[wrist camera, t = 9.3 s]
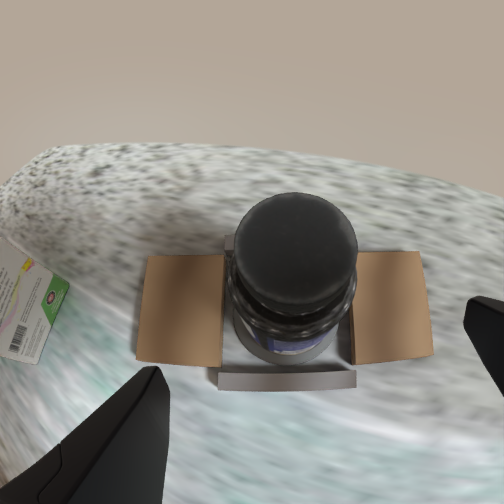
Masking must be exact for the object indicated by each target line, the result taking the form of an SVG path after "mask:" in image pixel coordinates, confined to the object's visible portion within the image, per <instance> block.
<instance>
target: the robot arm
mask: <svg viewBox="0 0 504 504" xmlns="http://www.w3.org/2000/svg"><path fill="white" fill-rule="evenodd" d="M463 325H464V329H465V331H466V333H467V335H468V336H469V338H470V340H471V342H472V344H473V345H474V347H475V349H476V351H477V353H478V355H479V357H480V359H481V360H482V362H483V364H484V366H485V367H486V369H487V371H488V372H489V374H490V375H491V377H492V379H493V380H494V382H495V383H496V385H497V387H498V388H499V390H500V392H501V393H502V395H503V397H504V301H500V300H496V299H492V298H488V297H484V296H476V297H473V298H470V299H469V300H468V302H467V306H466V311H465V316H464V321H463ZM169 422H170V390H169V387H168V385H167V383H166V380H165V378H164V376H163V374H162V372H161V370H160V368H159V367H158V366H147V367H143V368H142V369H141V370H140V371H138V372H137V373H136V374H135V375H134V376H133V377H132V378H131V379H130V380H129V381H127V382H126V383H125V384H124V385H123V386H122V387H121V388H120V389H119V390H118V391H116V392H115V393H114V394H113V395H112V396H111V397H110V398H109V399H108V400H107V401H105V402H104V403H103V404H102V405H101V406H100V407H99V408H98V409H97V410H95V411H94V412H93V413H92V414H91V415H90V416H89V417H88V418H87V419H85V420H84V421H83V422H82V423H81V424H80V425H79V426H78V427H76V428H75V429H74V430H73V431H72V432H71V433H70V434H69V435H67V436H66V437H65V438H64V439H63V440H62V441H61V442H60V444H57V445H56V446H55V447H54V448H53V449H52V450H50V451H49V452H48V453H47V454H46V455H45V456H43V457H42V458H41V459H40V460H39V461H37V462H36V463H35V464H33V465H32V466H31V467H30V468H28V469H27V470H25V471H24V472H23V473H21V474H20V475H19V476H17V477H16V478H14V479H13V480H11V481H10V482H9V483H7V484H6V485H4V486H3V487H1V488H0V504H162V498H163V488H164V480H165V471H166V463H167V455H168V447H169Z"/></svg>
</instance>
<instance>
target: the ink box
mask: <svg viewBox="0 0 504 504" xmlns="http://www.w3.org/2000/svg"><path fill="white" fill-rule="evenodd" d="M68 288H69V283H68V282H66V281H65V280H63V279H62V278H60V277H58V276H57V275H55V274H54V273H52V272H51V271H49V270H48V269H46V268H45V267H43V266H42V265H40V264H39V263H37V262H36V261H34V260H33V259H31V258H30V257H28V256H27V255H26V254H24V253H23V252H21V251H20V250H19V249H17V248H16V247H14V246H13V245H12V244H10V243H9V242H8V241H6V240H5V239H4V238H2V237H1V236H0V356H2V357H5V358H9V359H13V360H16V361H20V362H25V363H29V364H34V365H36V364H37V363H38V361H39V358H40V355H41V352H42V349H43V347H44V344H45V341H46V339H47V336H48V334H49V331H50V329H51V326H52V324H53V321H54V319H55V317H56V314H57V312H58V310H59V307H60V305H61V303H62V301H63V299H64V296H65V294H66V292H67V290H68Z"/></svg>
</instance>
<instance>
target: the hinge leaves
mask: <svg viewBox="0 0 504 504" xmlns="http://www.w3.org/2000/svg"><path fill="white" fill-rule="evenodd" d="M234 238H235V235H225V246H224V251H225V253H226V256H232V255H233V252H234ZM356 270H357V279H358V280H357V287H356V291H355V296H354V299H353V302H352V304H351V306H350V308H349V318H350V335H351V357H352V365H361V364H372V363H381V362H390V361H399V360H406V359H414V358H421V357H427V356H430V355H434V351H433V340H432V329H431V320H430V312H429V305H428V298H427V291H426V285H425V279H424V273H423V268H422V263H421V258H420V253H419V251H408V252H358V255H357V262H356ZM225 280H226V259H225V256H224V255H179V256H148V261H147V267H146V273H145V280H144V287H143V295H142V303H141V311H140V320H139V329H138V339H137V350H136V360H139V361H143V362H152V363H162V364H173V365H185V366H200V367H220V368H222V346H223V322H224V300H225ZM233 319H234V325H235V329H236V332H237V334H238V336H239V338H240V340H241V341H242V343H243V344H244V346H245V347H246V348H247V349H248V350H249V351H250V352H251V353H252V354H254V355H255V356H257V357H258V358H260V359H262V360H264V361H266V362H269V363H272V364H277V365H296V364H301V363H304V362H307V361H309V360H311V359H313V358H315V357H316V356H318V355H319V354H320V353H322V352H323V351H324V350H325V349H326V348H327V347H328V345H329V344H330V343H331V342H332V340H333V338H334V337H335V334H336V332H337V329H338V326H339V322H338V323H337V325H336V326H335V327H334V328H333V329H332V330H331V331H330V332H329V333H328V335H327V336H326V337H325V338H324V339H323V340H322V341H321V342H320V344H318V345H317V346H316V347H314V348H313V349H311V350H310V351H307V352H304V353H301V354H297V355H292V356H289V355H278V354H274V353H272V352H269V351H267V350H265V349H264V348H263V347H261V346H260V345H259V344H258V343H256V342H255V341H254V339H253V338H252V337H251V335H250V334H249V332H248V330H247V328H246V326H245V325H244V323H243V321H242V319H241V317H240V315H239V314H238V312H237V310H236V308H235V307H234V309H233ZM345 388H357V387H356V370H348V371H334V372H316V373H281V374H255V373H220V372H218V390H225V391H258V392H282V391H315V390H332V389H345Z"/></svg>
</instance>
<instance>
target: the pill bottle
mask: <svg viewBox="0 0 504 504" xmlns="http://www.w3.org/2000/svg"><path fill="white" fill-rule="evenodd" d="M357 255H358V245H357V240H356V235H355V232H354V229H353V227H352V225H351V224H350V221H349V220H348V219H347V217H346V216H345V215H344V214H343V212H341V211H340V209H338V208H337V207H336V206H334V205H333V204H331V203H330V202H328V201H327V200H325V199H323V198H320V197H318V196H314V195H311V194H305V193H298V192H292V193H284V194H278V195H274V196H273V197H270V198H266V199H265V200H262V201H261V202H259V203H258V204H256V205H255V206H253V207H252V209H250V210H249V211H248V213H247V214H246V215H245V216H244V217H243V219H242V220H241V222H240V224H239V226H238V229H237V231H236V234H235V238H234V252H233V255H232V257H231V260H230V261H229V267H228V278H227V281H228V288H229V293H230V297H231V299H232V301H233V304H234V307H235V308H236V310H237V312H238V314H239V315H240V317H241V319H242V321H243V323H244V325H245V326H246V328H247V330H248V332H249V334H250V335H251V337H252V338H253V339H254V341H255V342H256V343H258V344H259V345H260V346H261V347H263V348H264V349H265V350H267V351H269V352H272V353H274V354H278V355H289V356H292V355H297V354H301V353H304V352H307V351H310V350H311V349H313V348H314V347H316V346H317V345H318V344H320V342H321V341H322V340H323V339H324V338H325V337H326V336H327V335H328V333H329V332H330V331H331V330H332V329H333V328H334V327H335V326H336V325H337V323H338V322H339V321H340V320H341V319H342V318H343V317H344V315H345V314H346V312H347V311H348V309H349V308H350V306H351V304H352V302H353V299H354V296H355V291H356V287H357V280H358V279H357V270H356V262H357Z"/></svg>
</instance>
